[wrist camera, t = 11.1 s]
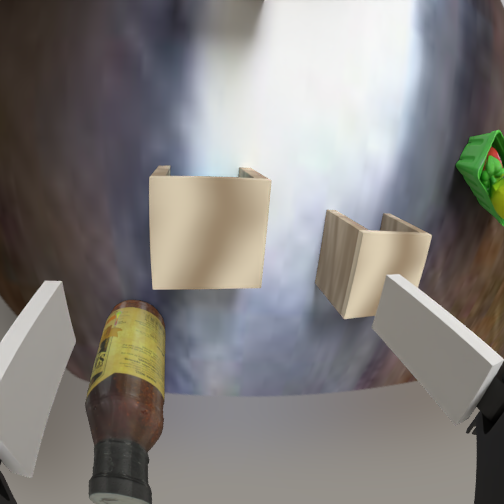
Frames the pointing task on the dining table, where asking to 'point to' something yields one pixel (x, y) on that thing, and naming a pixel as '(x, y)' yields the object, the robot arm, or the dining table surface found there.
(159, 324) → the sauce bottle
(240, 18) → the dining table surface
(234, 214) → the cover
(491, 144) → the fruit basket
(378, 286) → the cover
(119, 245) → the dining table surface
